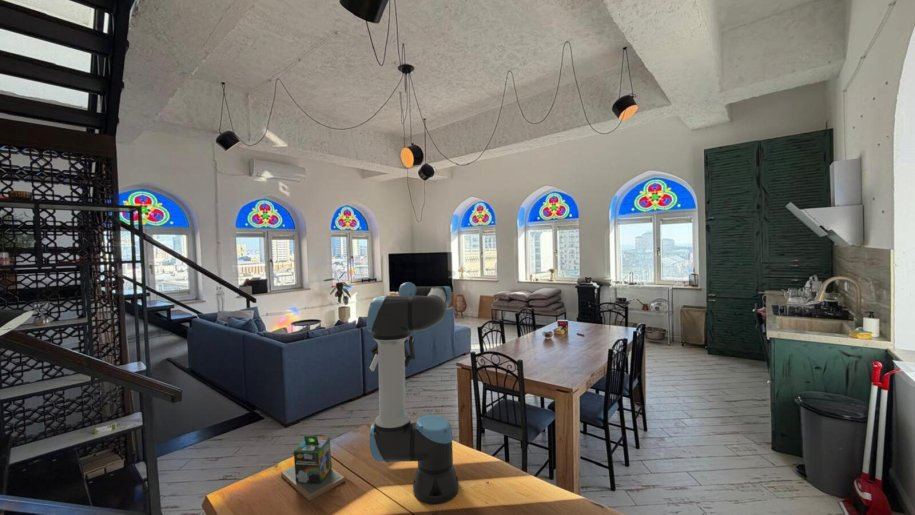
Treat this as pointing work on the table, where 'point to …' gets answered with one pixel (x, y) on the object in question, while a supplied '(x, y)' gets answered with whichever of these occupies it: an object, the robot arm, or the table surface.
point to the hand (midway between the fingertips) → (385, 372)
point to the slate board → (313, 489)
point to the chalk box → (312, 459)
